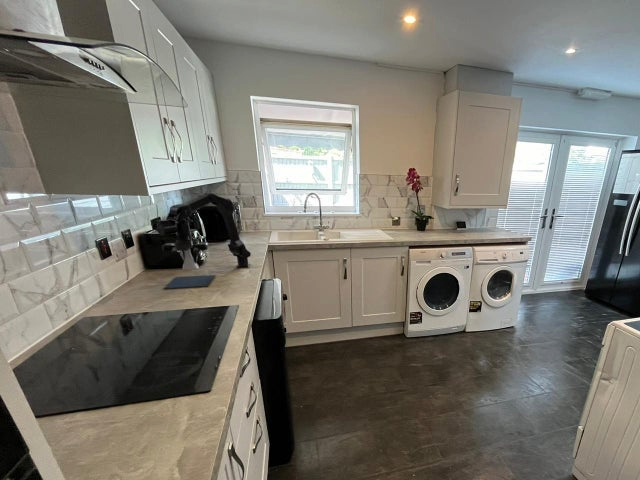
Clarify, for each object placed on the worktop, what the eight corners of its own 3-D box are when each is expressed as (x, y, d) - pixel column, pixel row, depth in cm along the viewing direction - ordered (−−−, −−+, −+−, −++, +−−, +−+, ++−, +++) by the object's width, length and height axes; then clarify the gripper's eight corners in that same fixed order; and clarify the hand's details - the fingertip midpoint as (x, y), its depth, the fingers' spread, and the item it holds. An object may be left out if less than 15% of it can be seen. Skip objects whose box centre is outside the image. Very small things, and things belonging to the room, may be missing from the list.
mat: (176, 277, 168) (176, 276, 168) (215, 276, 173) (214, 275, 173) (164, 289, 152) (164, 288, 152) (207, 286, 158) (207, 285, 157)
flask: (183, 267, 165) (179, 248, 161) (199, 266, 168) (196, 247, 164) (181, 271, 159) (176, 251, 155) (198, 269, 162) (194, 250, 158)
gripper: (154, 235, 147) (162, 268, 152) (201, 235, 152) (207, 267, 158) (163, 231, 157) (170, 262, 162) (206, 231, 162) (211, 261, 168)
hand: (189, 263), depth 162 cm, fingers closed on flask, 5 cm apart
